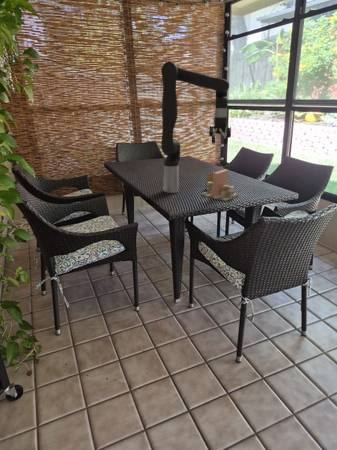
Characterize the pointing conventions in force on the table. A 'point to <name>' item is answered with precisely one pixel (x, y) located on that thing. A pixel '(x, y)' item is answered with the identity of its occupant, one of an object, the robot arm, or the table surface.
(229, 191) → the ash slotted base
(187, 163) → the table surface
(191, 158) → the table surface
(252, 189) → the table surface
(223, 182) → the terracotta slotted plate
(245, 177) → the table surface
